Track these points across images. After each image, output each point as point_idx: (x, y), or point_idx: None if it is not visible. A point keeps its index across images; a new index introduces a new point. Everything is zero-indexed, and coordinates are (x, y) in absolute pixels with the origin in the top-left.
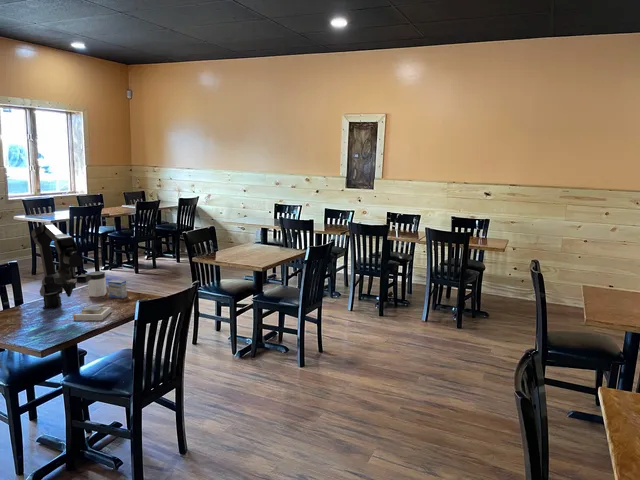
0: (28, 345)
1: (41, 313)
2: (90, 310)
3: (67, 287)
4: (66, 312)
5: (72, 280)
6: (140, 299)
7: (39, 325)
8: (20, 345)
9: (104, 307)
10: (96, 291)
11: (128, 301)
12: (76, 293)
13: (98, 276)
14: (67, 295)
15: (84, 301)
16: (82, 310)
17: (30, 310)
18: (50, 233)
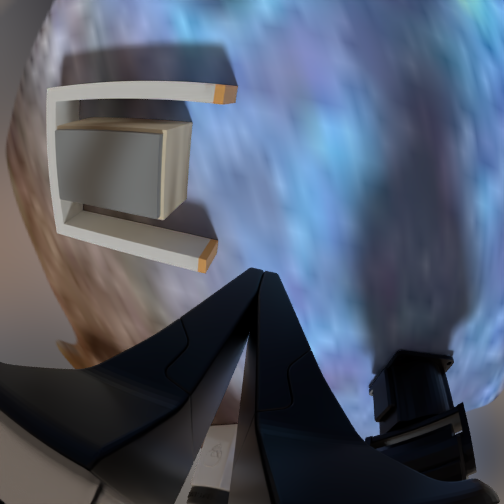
0: None
1: (468, 292)
2: (99, 131)
3: (245, 414)
4: (336, 277)
5: (10, 492)
6: (65, 344)
7: (458, 44)
8: None
9: (81, 235)
10: (229, 443)
11: (87, 341)
12: None
13: (201, 497)
14: (275, 281)
15: None
16: (154, 133)
17: (496, 341)
18: None
